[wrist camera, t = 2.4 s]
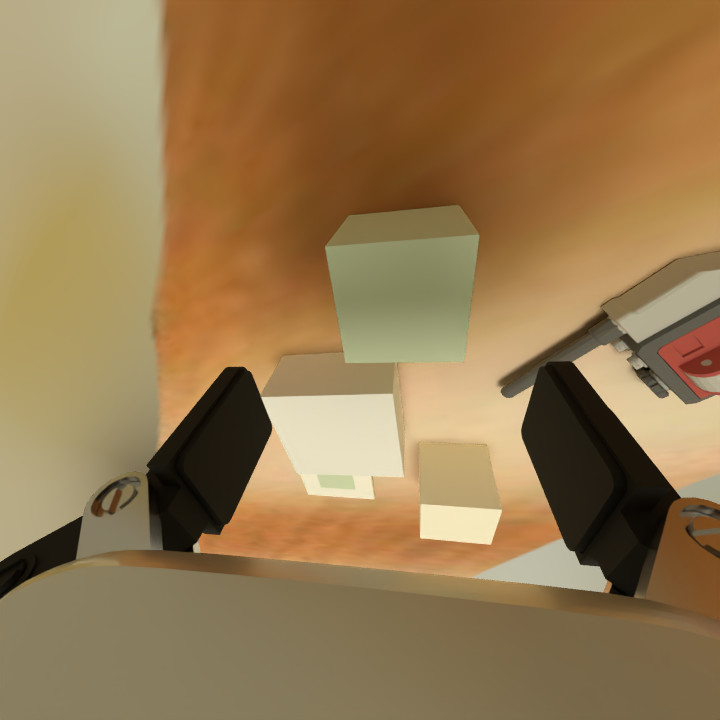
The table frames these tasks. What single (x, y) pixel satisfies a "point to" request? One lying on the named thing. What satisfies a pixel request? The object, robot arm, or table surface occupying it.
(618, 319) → the walkie-talkie
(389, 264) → the sage cube
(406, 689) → the robot arm
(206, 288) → the table surface
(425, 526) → the cream cube
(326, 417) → the base block
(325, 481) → the card
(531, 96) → the table surface
